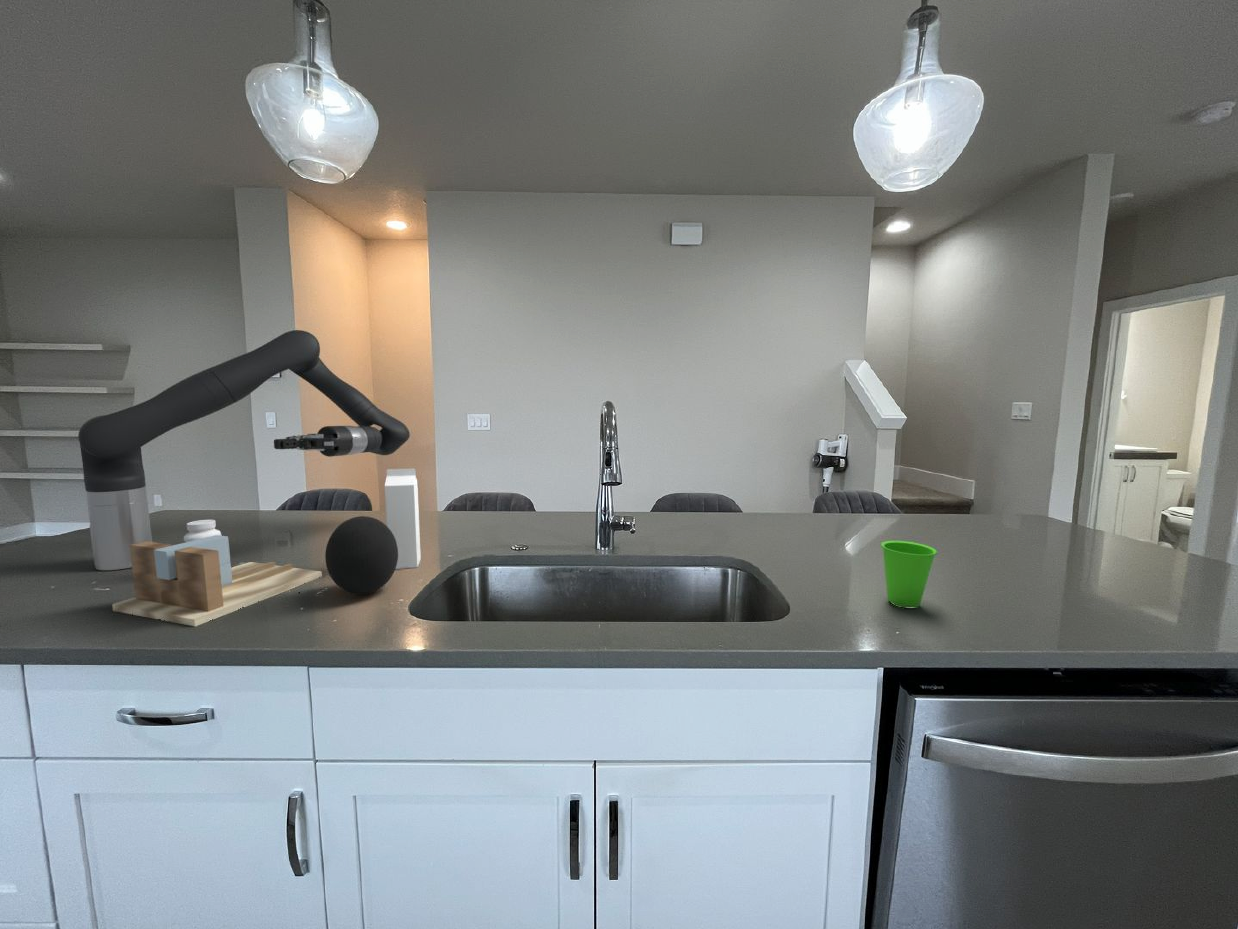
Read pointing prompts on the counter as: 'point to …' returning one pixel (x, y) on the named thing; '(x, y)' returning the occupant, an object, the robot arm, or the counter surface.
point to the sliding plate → (167, 555)
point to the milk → (403, 515)
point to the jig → (202, 585)
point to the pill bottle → (201, 530)
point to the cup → (906, 571)
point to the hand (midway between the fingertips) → (276, 444)
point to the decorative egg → (361, 555)
